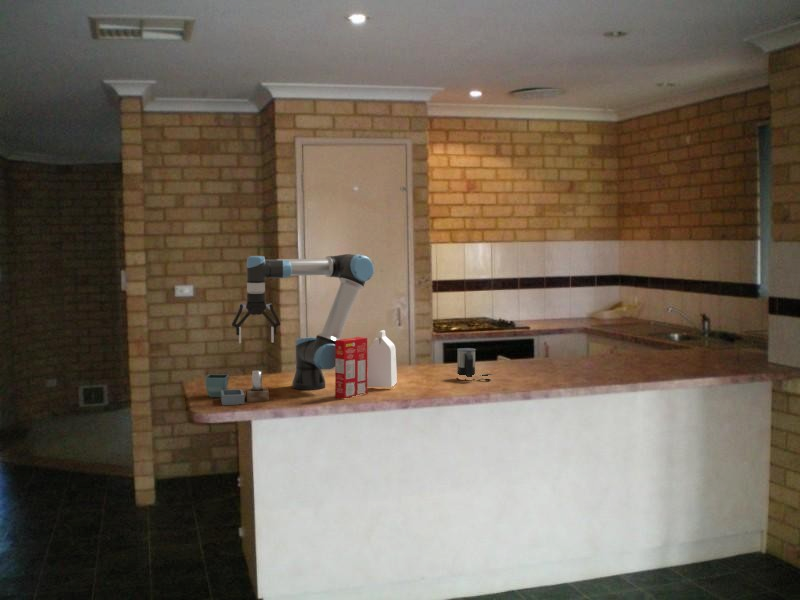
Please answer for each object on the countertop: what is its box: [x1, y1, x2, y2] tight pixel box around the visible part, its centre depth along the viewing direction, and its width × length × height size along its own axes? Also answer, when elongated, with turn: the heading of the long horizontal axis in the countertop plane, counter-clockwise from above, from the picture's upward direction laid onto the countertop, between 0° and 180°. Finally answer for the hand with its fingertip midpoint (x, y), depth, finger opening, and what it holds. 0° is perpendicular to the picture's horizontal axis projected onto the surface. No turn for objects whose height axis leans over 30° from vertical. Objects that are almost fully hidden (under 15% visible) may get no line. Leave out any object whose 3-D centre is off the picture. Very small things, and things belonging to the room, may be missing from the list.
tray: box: [220, 388, 245, 406], centre depth 355 cm, size 9×13×4 cm
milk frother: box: [456, 347, 493, 377], centre depth 411 cm, size 14×16×15 cm
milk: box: [367, 329, 398, 387], centre depth 390 cm, size 12×12×26 cm
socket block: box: [245, 387, 270, 403], centre depth 361 cm, size 9×9×4 cm
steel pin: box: [251, 370, 263, 391], centre depth 360 cm, size 4×4×12 cm
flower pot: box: [204, 374, 229, 399], centre depth 366 cm, size 9×9×9 cm
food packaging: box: [334, 336, 368, 399], centre depth 368 cm, size 15×5×25 cm, turn 141°
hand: (256, 342), depth 359 cm, fingers open, 13 cm apart
